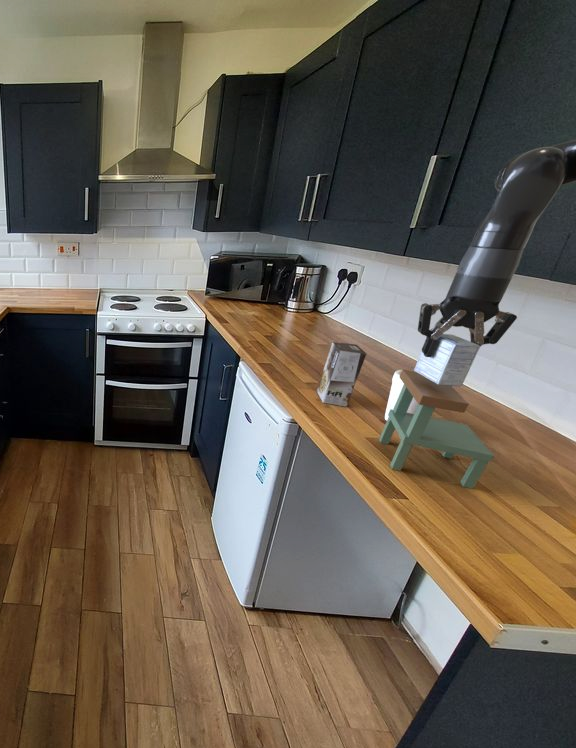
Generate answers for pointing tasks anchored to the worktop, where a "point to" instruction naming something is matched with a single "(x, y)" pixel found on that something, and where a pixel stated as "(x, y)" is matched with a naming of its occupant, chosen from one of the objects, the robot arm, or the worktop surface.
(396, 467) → the step stool
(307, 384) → the worktop surface
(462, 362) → the medicine box
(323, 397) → the coffee box
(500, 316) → the robot arm
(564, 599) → the worktop surface
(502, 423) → the worktop surface
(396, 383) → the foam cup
